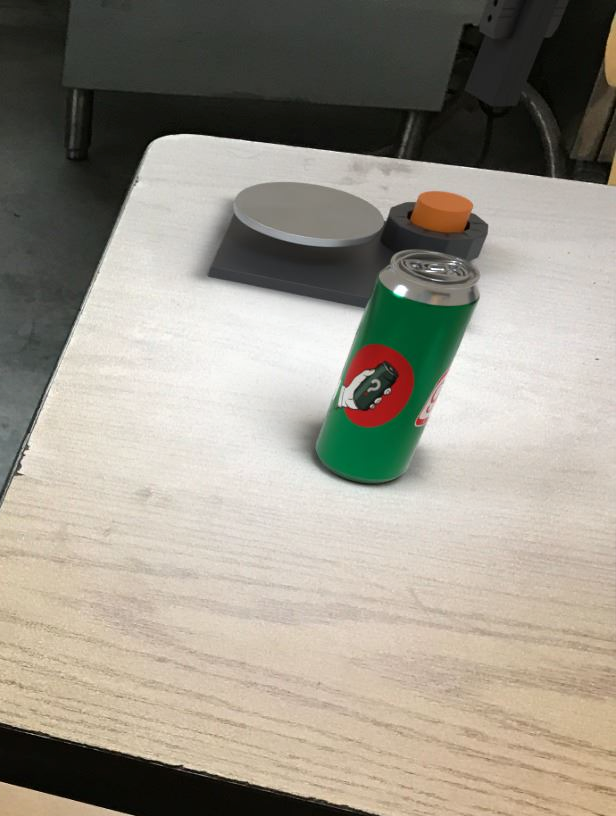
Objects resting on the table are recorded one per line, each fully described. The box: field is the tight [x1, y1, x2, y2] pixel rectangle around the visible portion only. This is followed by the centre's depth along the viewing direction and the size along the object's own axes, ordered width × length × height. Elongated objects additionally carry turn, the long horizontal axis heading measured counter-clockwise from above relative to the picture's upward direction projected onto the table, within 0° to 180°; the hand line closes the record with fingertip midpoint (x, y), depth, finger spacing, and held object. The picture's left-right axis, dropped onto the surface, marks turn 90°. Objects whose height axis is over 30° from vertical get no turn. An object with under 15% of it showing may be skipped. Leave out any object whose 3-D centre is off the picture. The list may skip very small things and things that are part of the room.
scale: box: [207, 201, 489, 309], centre depth 96 cm, size 17×14×4 cm
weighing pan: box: [232, 181, 385, 247], centre depth 95 cm, size 10×10×1 cm
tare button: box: [410, 190, 474, 233], centre depth 95 cm, size 4×4×2 cm
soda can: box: [314, 249, 481, 485], centre depth 74 cm, size 5×5×12 cm
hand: (490, 97), depth 76 cm, fingers closed
